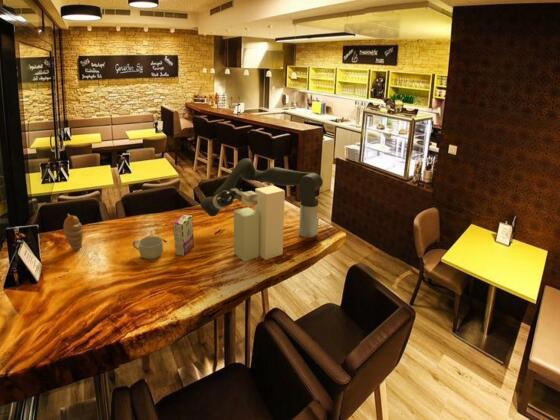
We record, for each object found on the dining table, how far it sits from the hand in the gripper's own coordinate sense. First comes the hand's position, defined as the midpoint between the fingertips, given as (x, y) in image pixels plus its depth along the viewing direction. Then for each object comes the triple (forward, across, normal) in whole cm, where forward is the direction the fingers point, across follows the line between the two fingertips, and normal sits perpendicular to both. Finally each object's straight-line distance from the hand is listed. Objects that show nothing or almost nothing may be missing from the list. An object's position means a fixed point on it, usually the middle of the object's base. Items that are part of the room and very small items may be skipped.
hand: (238, 191), depth 176 cm
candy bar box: (-27, +22, -19) cm, 40 cm away
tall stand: (-5, -10, -31) cm, 33 cm away
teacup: (-30, +38, -18) cm, 51 cm away
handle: (+2, 0, -4) cm, 5 cm away
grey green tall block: (-9, 0, -29) cm, 30 cm away
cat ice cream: (-51, +64, -6) cm, 82 cm away
